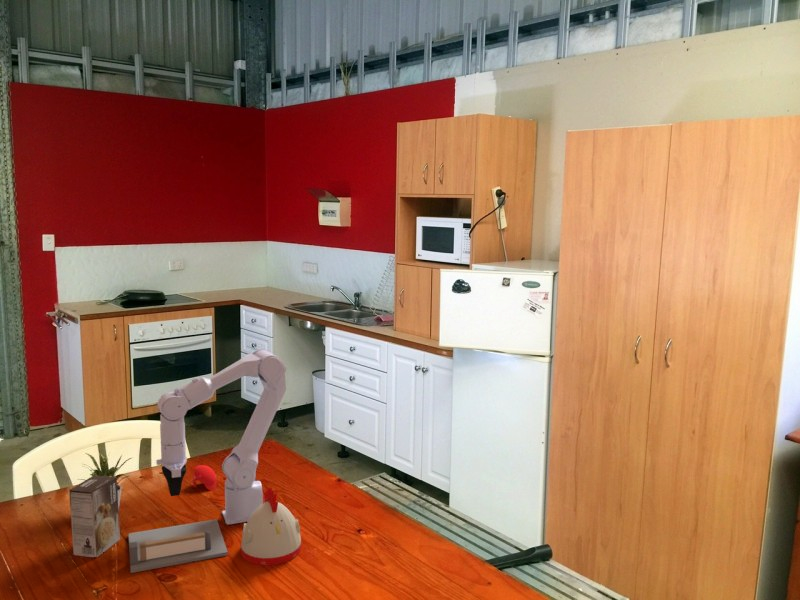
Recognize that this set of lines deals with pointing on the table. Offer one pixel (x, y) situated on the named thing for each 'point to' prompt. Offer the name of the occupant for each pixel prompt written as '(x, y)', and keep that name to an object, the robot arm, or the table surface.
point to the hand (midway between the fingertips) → (175, 494)
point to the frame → (210, 528)
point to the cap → (205, 476)
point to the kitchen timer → (271, 533)
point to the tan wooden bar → (172, 546)
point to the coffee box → (94, 515)
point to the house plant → (107, 471)
